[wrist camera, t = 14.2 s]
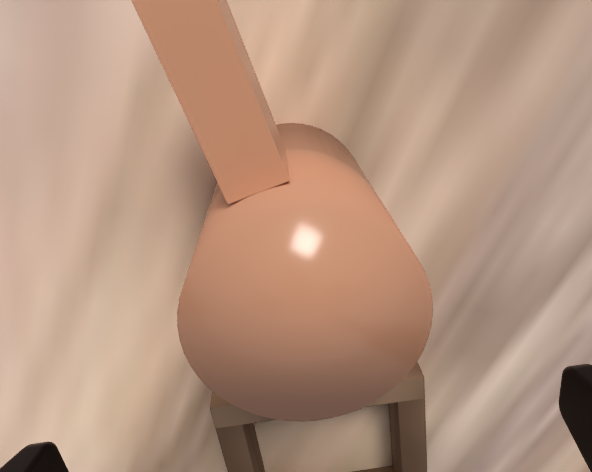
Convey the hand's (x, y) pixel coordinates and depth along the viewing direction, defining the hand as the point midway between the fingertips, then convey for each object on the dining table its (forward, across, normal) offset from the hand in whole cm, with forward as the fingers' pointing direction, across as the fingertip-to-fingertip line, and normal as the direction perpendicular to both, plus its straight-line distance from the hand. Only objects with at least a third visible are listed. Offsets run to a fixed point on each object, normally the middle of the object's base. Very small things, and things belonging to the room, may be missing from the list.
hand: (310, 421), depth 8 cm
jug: (+12, 0, -2) cm, 12 cm away
